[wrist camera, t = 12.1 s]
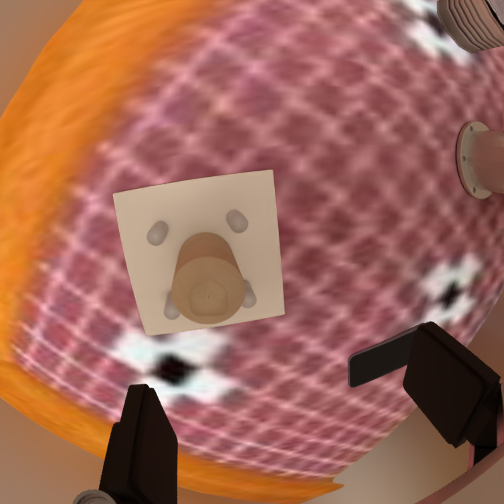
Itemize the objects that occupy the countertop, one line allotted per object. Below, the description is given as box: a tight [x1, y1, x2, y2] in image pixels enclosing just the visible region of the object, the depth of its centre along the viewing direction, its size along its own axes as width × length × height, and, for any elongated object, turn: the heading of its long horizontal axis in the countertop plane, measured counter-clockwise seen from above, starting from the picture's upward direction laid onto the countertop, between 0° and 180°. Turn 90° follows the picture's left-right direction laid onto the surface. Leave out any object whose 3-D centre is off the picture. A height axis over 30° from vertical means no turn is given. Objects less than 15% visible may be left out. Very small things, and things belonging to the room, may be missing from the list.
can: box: [437, 0, 504, 53], centre depth 21 cm, size 11×11×12 cm
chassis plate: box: [113, 170, 285, 336], centre depth 28 cm, size 16×16×5 cm
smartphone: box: [348, 323, 425, 388], centre depth 40 cm, size 7×1×15 cm
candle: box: [171, 232, 245, 324], centre depth 25 cm, size 6×6×10 cm
